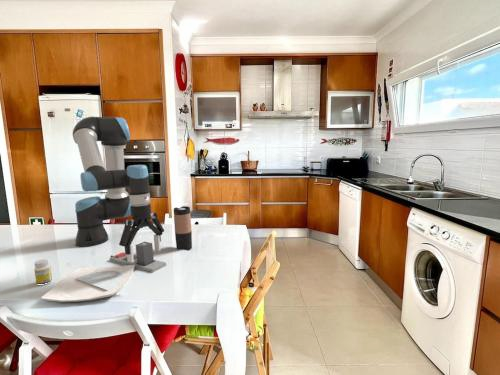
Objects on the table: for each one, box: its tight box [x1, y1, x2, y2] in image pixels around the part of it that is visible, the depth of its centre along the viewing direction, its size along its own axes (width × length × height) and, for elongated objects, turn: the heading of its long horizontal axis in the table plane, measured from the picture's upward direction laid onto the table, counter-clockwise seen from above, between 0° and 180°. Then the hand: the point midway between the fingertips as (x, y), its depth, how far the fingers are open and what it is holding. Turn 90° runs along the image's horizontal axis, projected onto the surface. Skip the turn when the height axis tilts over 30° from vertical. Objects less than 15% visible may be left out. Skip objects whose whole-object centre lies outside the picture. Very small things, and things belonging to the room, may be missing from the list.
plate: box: [40, 265, 135, 303], centre depth 101 cm, size 24×24×3 cm
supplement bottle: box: [34, 258, 53, 285], centre depth 104 cm, size 5×5×8 cm
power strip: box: [109, 252, 167, 273], centre depth 118 cm, size 30×7×3 cm, turn 61°
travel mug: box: [173, 205, 193, 251], centre depth 134 cm, size 8×8×20 cm
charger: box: [135, 241, 155, 266], centre depth 114 cm, size 4×4×9 cm
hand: (144, 255), depth 114 cm, fingers open, 13 cm apart
